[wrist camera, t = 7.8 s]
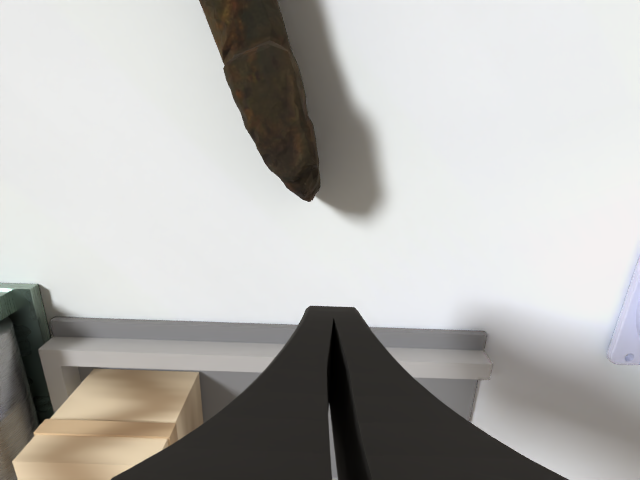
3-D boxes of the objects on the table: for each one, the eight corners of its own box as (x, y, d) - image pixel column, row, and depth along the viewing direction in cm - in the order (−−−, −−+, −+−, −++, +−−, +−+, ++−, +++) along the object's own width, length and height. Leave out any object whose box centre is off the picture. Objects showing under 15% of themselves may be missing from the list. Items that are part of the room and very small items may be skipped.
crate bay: (484, 331, 21) (496, 348, 20) (450, 497, 25) (458, 522, 24) (54, 316, 21) (33, 333, 20) (93, 486, 25) (78, 510, 24)
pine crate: (200, 370, 22) (156, 464, 16) (208, 464, 24) (173, 575, 18) (92, 367, 21) (9, 459, 16) (110, 461, 24) (44, 571, 18)
